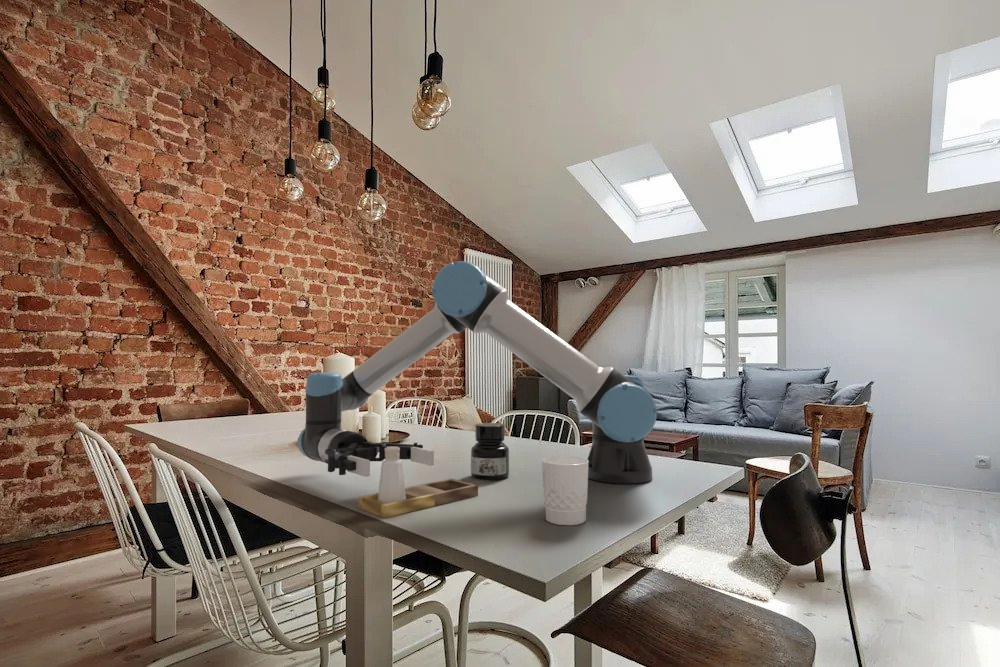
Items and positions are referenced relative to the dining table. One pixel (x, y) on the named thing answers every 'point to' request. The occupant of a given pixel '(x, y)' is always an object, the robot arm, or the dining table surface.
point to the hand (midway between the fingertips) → (401, 463)
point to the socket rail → (420, 497)
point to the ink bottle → (490, 452)
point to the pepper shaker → (391, 477)
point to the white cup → (565, 489)
